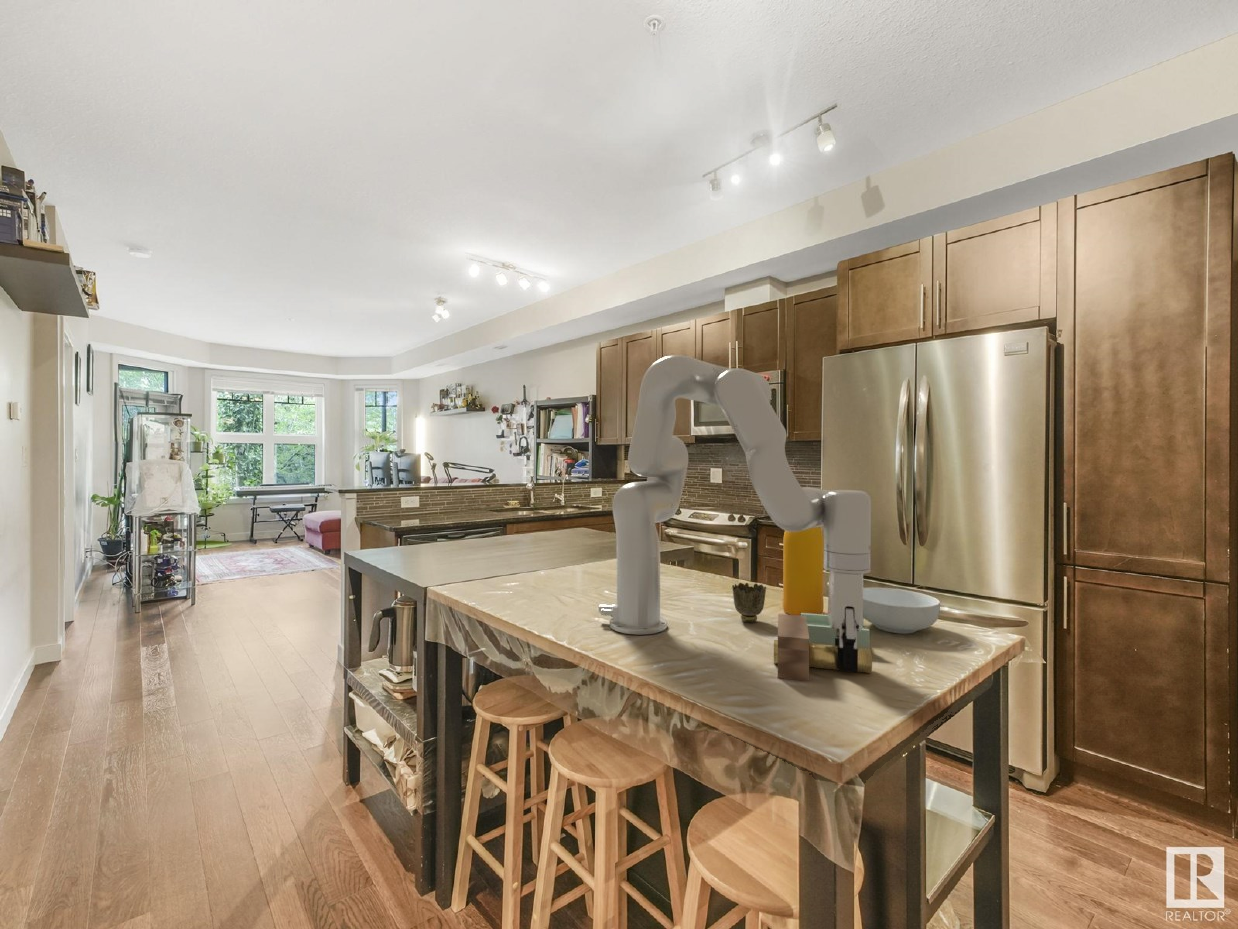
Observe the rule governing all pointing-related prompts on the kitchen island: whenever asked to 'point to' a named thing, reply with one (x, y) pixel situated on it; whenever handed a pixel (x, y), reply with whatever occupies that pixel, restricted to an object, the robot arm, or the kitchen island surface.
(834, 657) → the axle
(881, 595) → the cereal bowl
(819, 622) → the v block
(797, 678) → the beam
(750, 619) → the cup
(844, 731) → the kitchen island surface
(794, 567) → the beer bottle
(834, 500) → the robot arm
